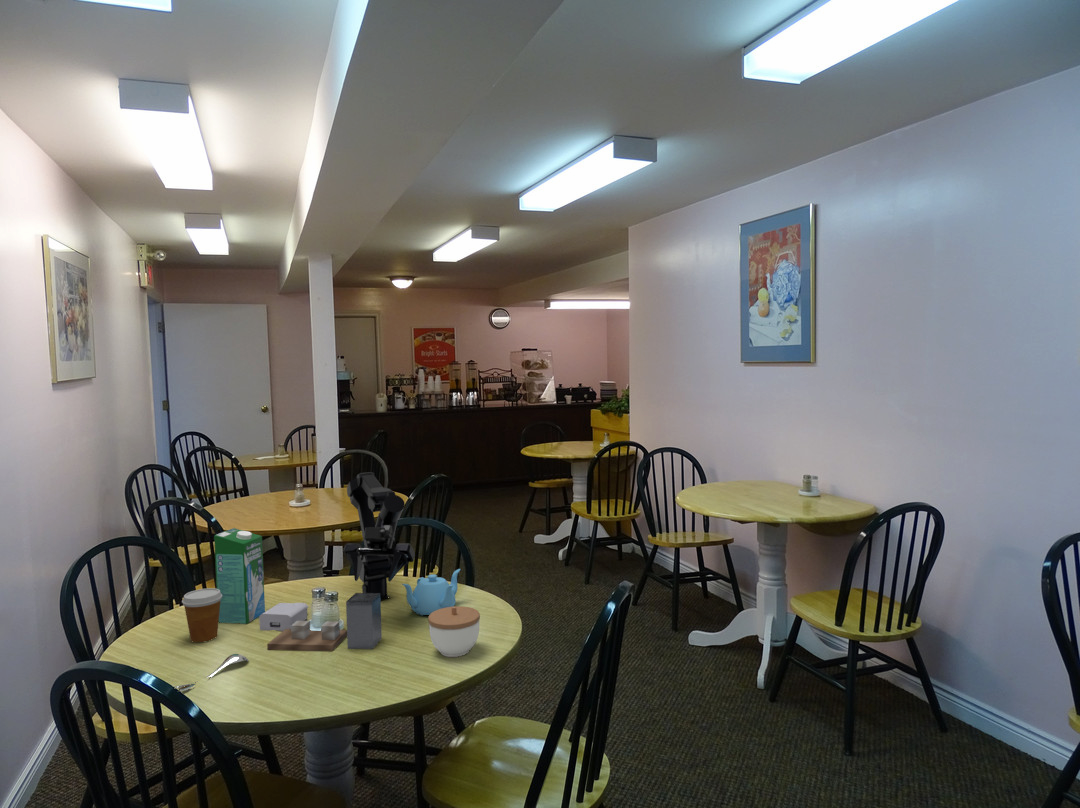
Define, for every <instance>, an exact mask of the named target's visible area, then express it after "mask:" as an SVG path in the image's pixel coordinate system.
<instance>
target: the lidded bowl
mask: <svg viewBox="0 0 1080 808" xmlns="http://www.w3.org/2000/svg"><path fill="white" fill-rule="evenodd" d="M427 617H428V618H427V619H428V620H427V621H428V629H429V637H430V640H431V642H432V645H433V646H434V648H435V649H436V651H439V652H440V654H441V656H444V657H446V658H459V657H462V655H463V656H465V655H464V654H466V653H467V654H469V653H470V651H469V650H471V649H472V648H473V647H474V646H475V644H476V643H477V640H478V637H479V633H480V619H481V614H480V612H479V610H477V609H475V608H473V607H468V606H459V605H458V606H456V605H454V607H446V608H442V609H438V610H436V611H434V612H432V613H431V614H430V615H429V616H427ZM467 654H466V655H467ZM458 656H459V657H458Z"/></svg>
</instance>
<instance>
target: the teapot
mask: <svg viewBox="0 0 1080 808" xmlns="http://www.w3.org/2000/svg"><path fill="white" fill-rule="evenodd" d="M460 571H461V568H458V569H455V570H454V571H453V574H452V575H451V579H450V584H449V582H448V581H447V580H446V579H445V578H444V577H438V575H437V574H433V573H432V574H428V575H427V577H423V576H422V577H419V578H417V580H416V586H415V588H414V589H413V588H412V586H411V585H410V584H408V583H401V585H402V586H403V587H404V588H405V590H406V601H407V604H408V606H410V608H411V610H412V611H413V612H414V613H415V612H416V613H415V614H416V615H419V614H420V615H419V616H423V615H430V614H431V613H432V612H434V611H436V610H438V609H442V608H446V607H454V606H456V595H457V591H458V575H459V573H460ZM412 589H413V590H412Z"/></svg>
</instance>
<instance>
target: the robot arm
mask: <svg viewBox="0 0 1080 808" xmlns="http://www.w3.org/2000/svg"><path fill="white" fill-rule="evenodd" d="M346 494H347V497H348V498H349V500H350V504H351V505H352V506H353V507H354V508H355V509H357V512H358V514H357V515H358V518H359V524H360V528H361V535H362V539H363V544H364V547H362V545H361V543H358V542H357V543H354V542H353V543H351V542H349V543H346V544H345V545H344V547H343V549H342V552H343V555H345V557H346V559H347V560H348V562H351V564H352V567H353V577H354V581H355V582H358V580H359V579H360V581H361V582H362V583H363V584H361V586H362V587H361V589H362V590H361V591H362V592H361V593H380V598H381V599H384V598H387V599H389V598H388V597H391V596H390V595H388V584H387V583H388V582H389V583H390V582H391V581H392V580H393V579H394V578H395V577H396V575H397V573H399V571H400V570H402V569H403V568H404V566H406V565H409V564H410V563H413V562H414V560H415V556H416V554H415V550H414V549H413V546H412V544H411V543H409V542H408V543H397V544H395V545H396V546H395V548H392V547H393V543H394V542H395V541H396V538H395V534H396V530H397V529H396V528H397V525H398V522H399V521H398V520H399V519H400V518H401V515H402V513H403V510H404V508H405V500H404V499H403V498H402V497H401V496H399V495H397V494H396V493H395V491H393V490H392V489H390V488H388V487H387V488H386V487H383V485H382V484H381V483H380V482H379V480H378V479H377V477H376V475H375V472H371V471H370V472H360V473H358V474H357V475H356V477H354V478H353V479H351V480H350V481H349V482H348V484H347V486H346ZM376 512H377V513H378V516H377V520H376V519H375V516H374V515H375V514H374V513H376ZM389 557H392V560H391V558H389ZM387 581H388V582H387ZM384 600H385V599H384Z"/></svg>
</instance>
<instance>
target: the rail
mask: <svg viewBox="0 0 1080 808" xmlns="http://www.w3.org/2000/svg"><path fill="white" fill-rule="evenodd" d="M340 625H341V624H340V621H336V620H335V621H334V620H327V621H325V622H324V623H323V624H321V627H320V629H321V631H311V630H310V629H311V621H310V620H304V621H296V622H295V623H294V624H292V625H291V629H285V630H284V631H280V633H279V634H277V635H276V636H275V637H274V638H273V639H272V640H270V641H268V643H267V644H266V645H267V646H266V647H267V651H268V650H269V651H303V652H304V651H306V652H307V651H309V652H315V651H317V652H318V651H319V652H320V651H321V652H333V651H335V649H337V647H338V646H340V644H341V643H342V642H343V641H344V640H346V639H347V629H341V628H340Z"/></svg>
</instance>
